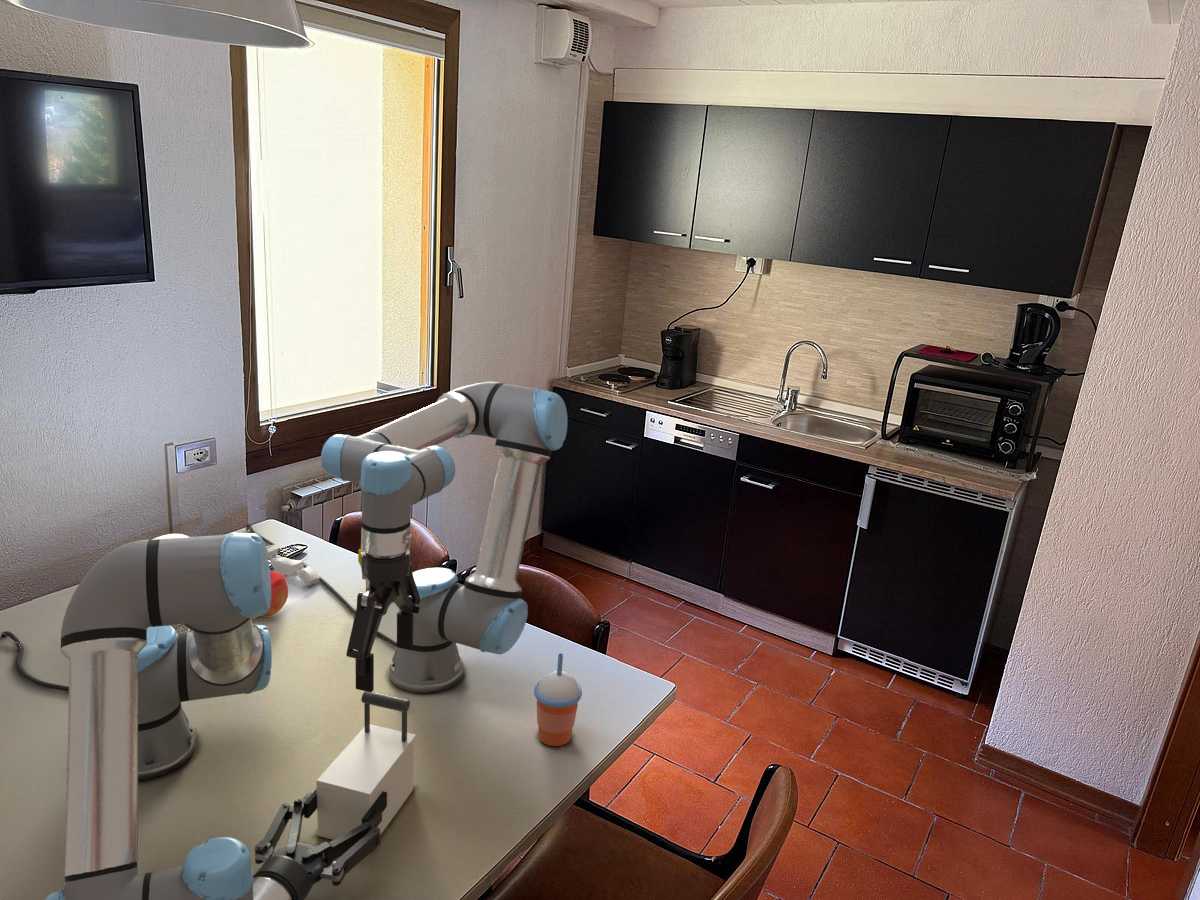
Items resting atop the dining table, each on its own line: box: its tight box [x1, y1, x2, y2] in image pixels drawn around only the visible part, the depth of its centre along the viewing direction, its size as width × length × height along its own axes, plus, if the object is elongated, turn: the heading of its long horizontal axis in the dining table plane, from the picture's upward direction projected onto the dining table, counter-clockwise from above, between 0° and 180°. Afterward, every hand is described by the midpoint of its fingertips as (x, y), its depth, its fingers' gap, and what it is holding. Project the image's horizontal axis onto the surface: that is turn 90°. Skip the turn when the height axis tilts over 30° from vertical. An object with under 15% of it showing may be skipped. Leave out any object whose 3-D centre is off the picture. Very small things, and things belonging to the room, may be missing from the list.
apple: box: [260, 571, 289, 618], centre depth 199 cm, size 10×10×10 cm
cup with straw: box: [533, 652, 583, 747], centre depth 162 cm, size 9×9×18 cm
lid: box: [316, 691, 417, 801], centre depth 138 cm, size 16×9×9 cm, turn 166°
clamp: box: [266, 544, 322, 587], centre depth 219 cm, size 20×4×7 cm, turn 62°
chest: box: [316, 743, 415, 841], centre depth 141 cm, size 15×9×9 cm, turn 166°
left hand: (356, 791), depth 137 cm, fingers closed on chest, 9 cm apart
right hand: (385, 667), depth 141 cm, fingers open, 13 cm apart
